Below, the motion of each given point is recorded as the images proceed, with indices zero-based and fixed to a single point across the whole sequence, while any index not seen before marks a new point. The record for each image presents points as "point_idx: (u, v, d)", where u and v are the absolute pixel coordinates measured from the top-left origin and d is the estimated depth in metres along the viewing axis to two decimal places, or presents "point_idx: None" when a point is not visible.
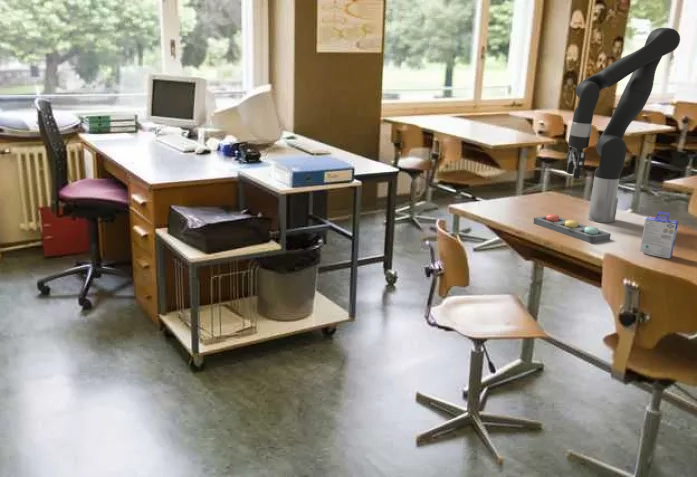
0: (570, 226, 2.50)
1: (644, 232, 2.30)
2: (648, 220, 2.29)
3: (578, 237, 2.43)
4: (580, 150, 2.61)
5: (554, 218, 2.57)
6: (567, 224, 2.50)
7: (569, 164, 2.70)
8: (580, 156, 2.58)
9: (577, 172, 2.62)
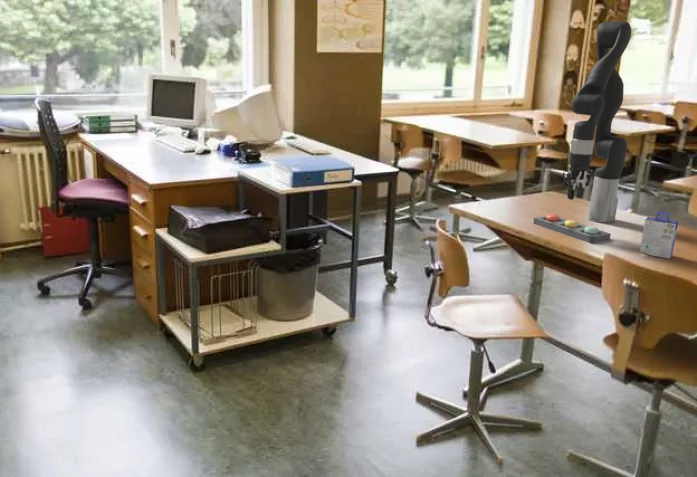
0: (570, 226, 2.50)
1: (644, 232, 2.30)
2: (648, 220, 2.29)
3: (578, 237, 2.43)
4: None
5: (554, 218, 2.57)
6: (567, 224, 2.50)
7: None
8: None
9: None
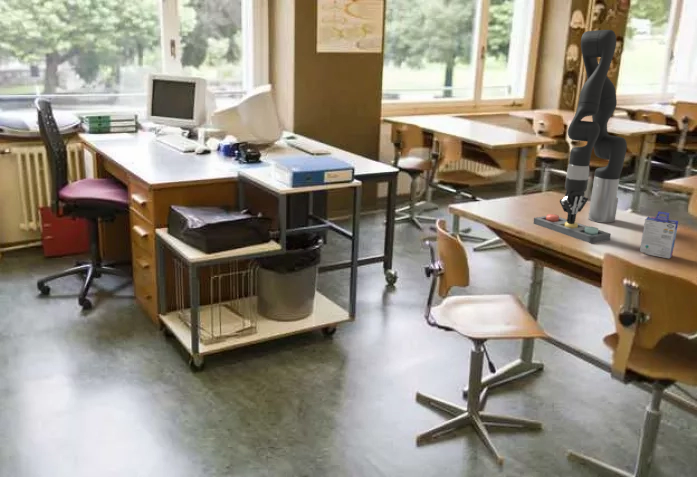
0: None
1: (644, 232, 2.30)
2: (648, 220, 2.29)
3: (578, 237, 2.43)
4: None
5: (554, 218, 2.57)
6: (567, 226, 2.50)
7: None
8: None
9: None
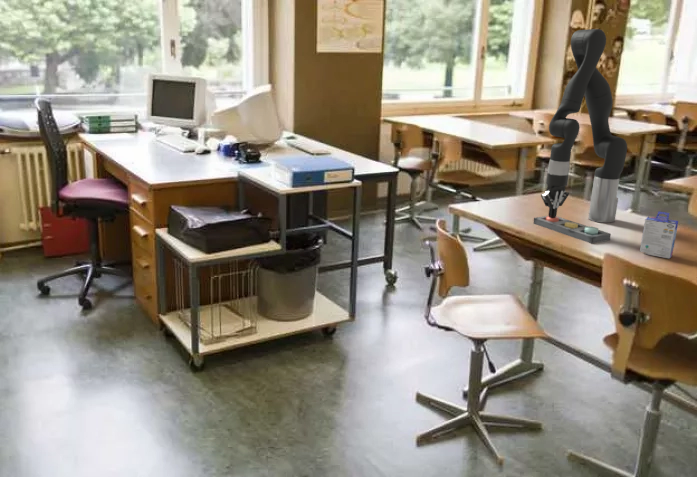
0: None
1: (644, 232, 2.30)
2: (648, 220, 2.29)
3: (578, 237, 2.43)
4: None
5: (554, 220, 2.57)
6: (567, 226, 2.50)
7: None
8: None
9: None
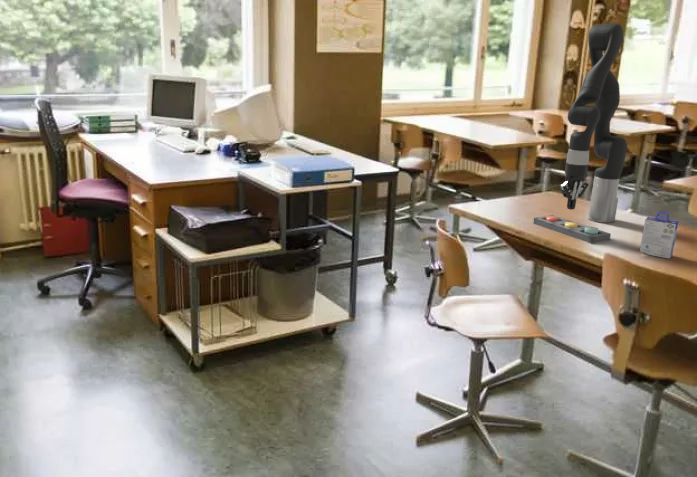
0: None
1: (644, 232, 2.30)
2: (648, 220, 2.29)
3: (578, 237, 2.43)
4: None
5: (554, 220, 2.57)
6: (567, 226, 2.50)
7: None
8: None
9: None
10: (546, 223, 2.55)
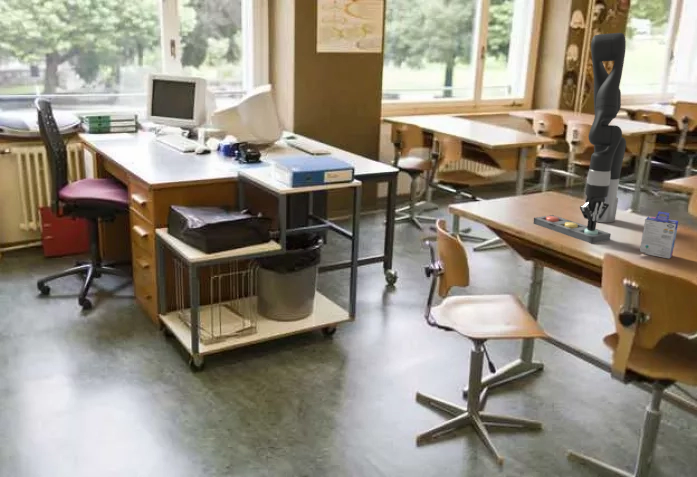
0: None
1: (644, 232, 2.30)
2: (648, 220, 2.29)
3: (578, 237, 2.43)
4: None
5: (554, 220, 2.57)
6: (567, 226, 2.50)
7: None
8: None
9: None
10: (546, 223, 2.55)
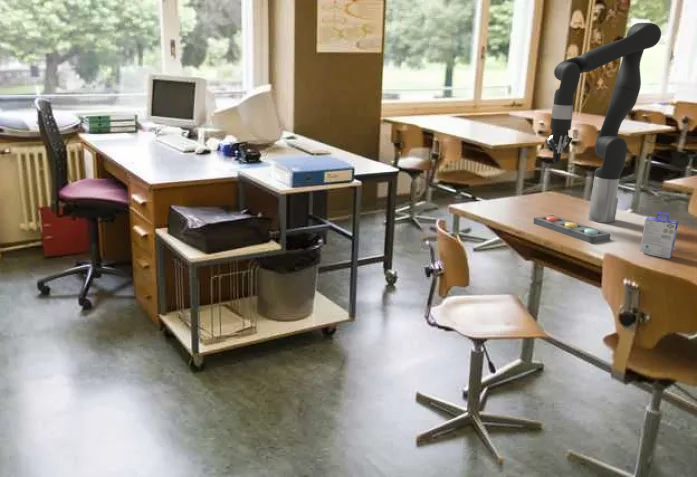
0: None
1: (644, 232, 2.30)
2: (648, 220, 2.29)
3: (578, 237, 2.43)
4: None
5: (554, 220, 2.57)
6: (567, 226, 2.50)
7: None
8: None
9: None
10: (546, 223, 2.55)
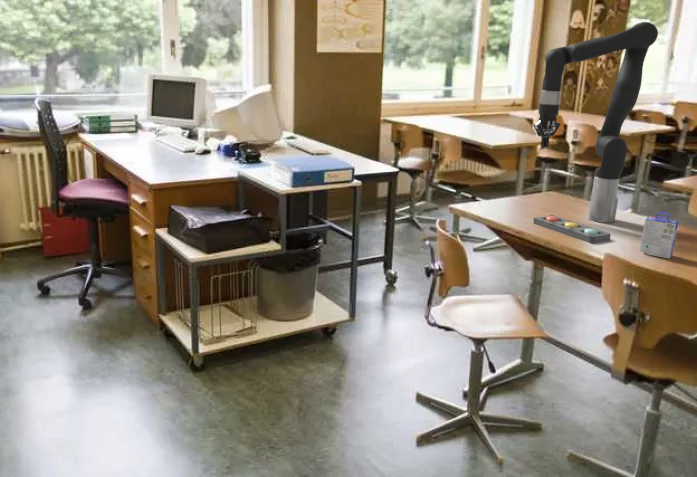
0: None
1: (644, 232, 2.30)
2: (648, 220, 2.29)
3: (578, 237, 2.43)
4: None
5: (554, 220, 2.57)
6: (567, 226, 2.50)
7: None
8: None
9: None
10: (546, 223, 2.55)
